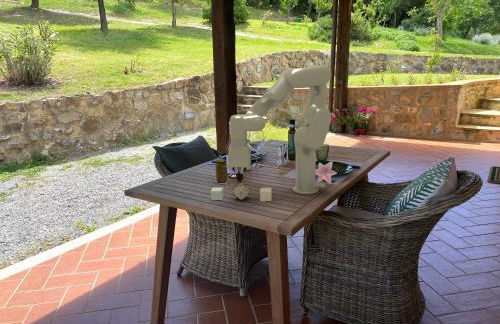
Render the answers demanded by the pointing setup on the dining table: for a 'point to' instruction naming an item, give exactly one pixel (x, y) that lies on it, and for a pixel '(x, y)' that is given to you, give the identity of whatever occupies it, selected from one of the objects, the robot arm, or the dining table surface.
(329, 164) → the lily
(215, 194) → the grey-green block
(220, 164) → the condiment
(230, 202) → the dining table surface
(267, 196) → the off-white block
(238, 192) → the game die
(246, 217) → the dining table surface
